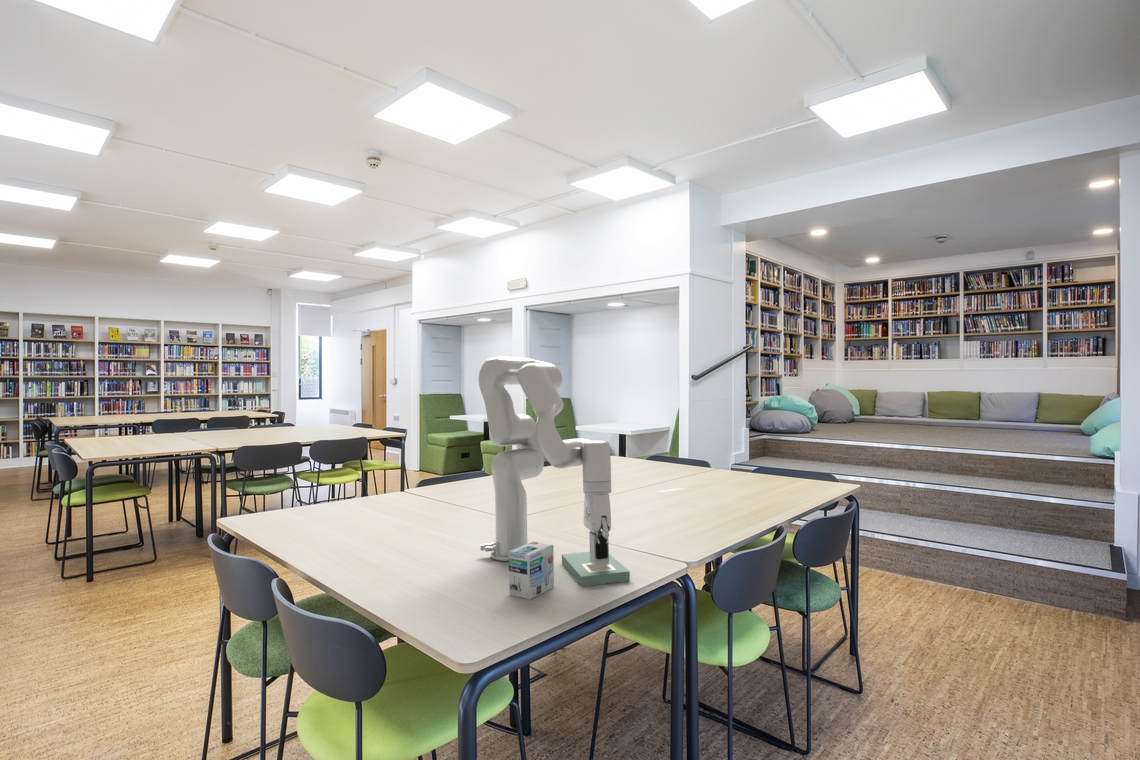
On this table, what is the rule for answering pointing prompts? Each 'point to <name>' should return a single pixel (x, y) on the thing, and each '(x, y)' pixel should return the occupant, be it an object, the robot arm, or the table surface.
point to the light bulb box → (531, 570)
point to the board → (594, 570)
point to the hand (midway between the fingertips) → (599, 555)
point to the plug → (593, 551)
